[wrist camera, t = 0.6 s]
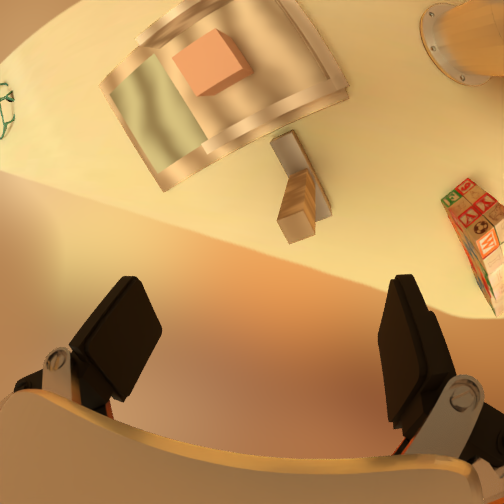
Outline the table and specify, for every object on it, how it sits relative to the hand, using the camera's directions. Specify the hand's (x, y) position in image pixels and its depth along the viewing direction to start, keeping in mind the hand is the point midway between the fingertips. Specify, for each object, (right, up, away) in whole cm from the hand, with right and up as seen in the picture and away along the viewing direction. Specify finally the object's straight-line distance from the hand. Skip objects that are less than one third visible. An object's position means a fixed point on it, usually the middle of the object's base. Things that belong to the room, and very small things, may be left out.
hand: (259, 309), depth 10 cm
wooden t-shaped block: (+7, +13, +26) cm, 29 cm away
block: (-4, +26, +19) cm, 32 cm away
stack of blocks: (+37, +5, +24) cm, 44 cm away
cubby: (-6, +25, +21) cm, 33 cm away
